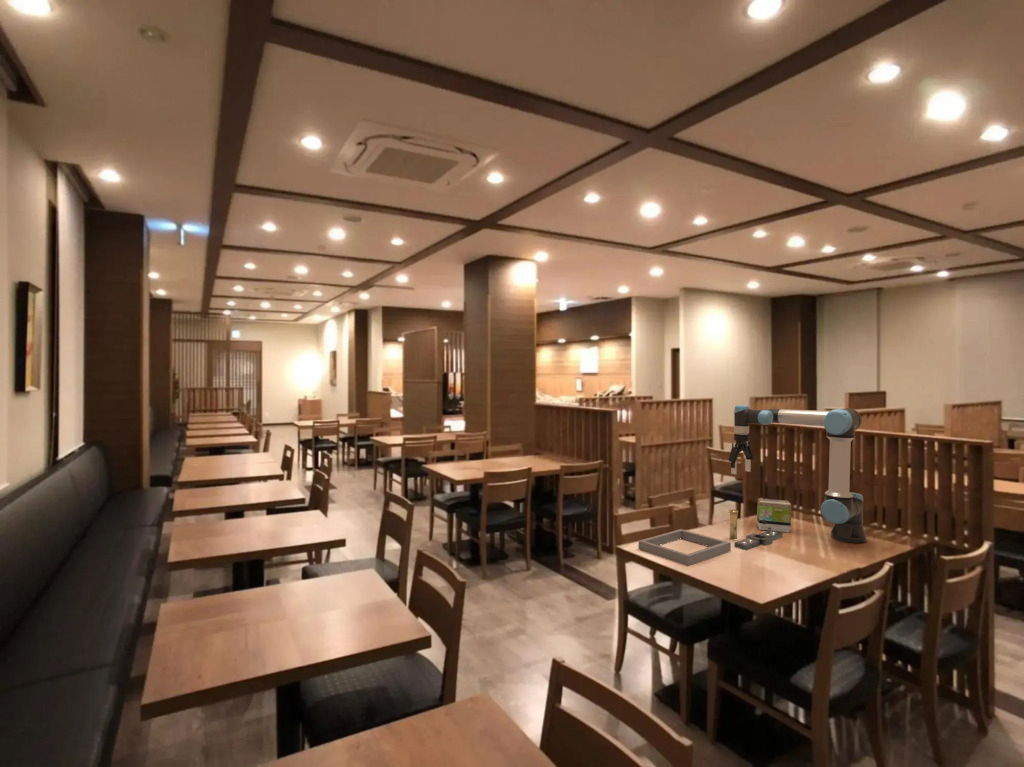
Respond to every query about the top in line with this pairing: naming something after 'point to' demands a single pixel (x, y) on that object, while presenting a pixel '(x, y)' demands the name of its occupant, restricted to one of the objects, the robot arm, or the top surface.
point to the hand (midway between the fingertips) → (740, 472)
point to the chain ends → (758, 539)
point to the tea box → (774, 515)
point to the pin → (733, 524)
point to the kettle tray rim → (688, 559)
